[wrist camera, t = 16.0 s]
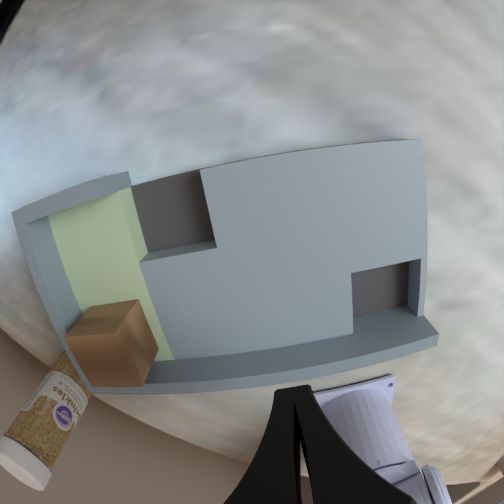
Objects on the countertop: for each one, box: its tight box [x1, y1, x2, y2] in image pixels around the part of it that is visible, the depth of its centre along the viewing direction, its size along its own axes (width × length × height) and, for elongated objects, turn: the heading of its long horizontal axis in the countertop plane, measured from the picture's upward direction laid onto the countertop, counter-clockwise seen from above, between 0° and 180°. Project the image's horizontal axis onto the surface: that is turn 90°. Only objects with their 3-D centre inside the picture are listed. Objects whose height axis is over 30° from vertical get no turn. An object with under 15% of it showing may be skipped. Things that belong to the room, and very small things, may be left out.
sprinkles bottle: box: [0, 351, 93, 491], centre depth 17 cm, size 5×5×13 cm
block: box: [64, 299, 159, 387], centre depth 17 cm, size 4×4×4 cm
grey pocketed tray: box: [12, 139, 439, 394], centre depth 17 cm, size 14×25×4 cm, turn 101°
